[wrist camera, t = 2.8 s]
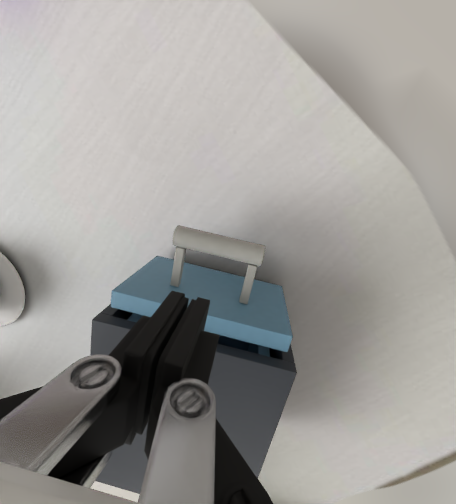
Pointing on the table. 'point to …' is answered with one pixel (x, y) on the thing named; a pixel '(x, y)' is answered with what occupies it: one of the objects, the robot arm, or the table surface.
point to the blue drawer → (213, 292)
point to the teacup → (10, 292)
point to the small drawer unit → (226, 395)
